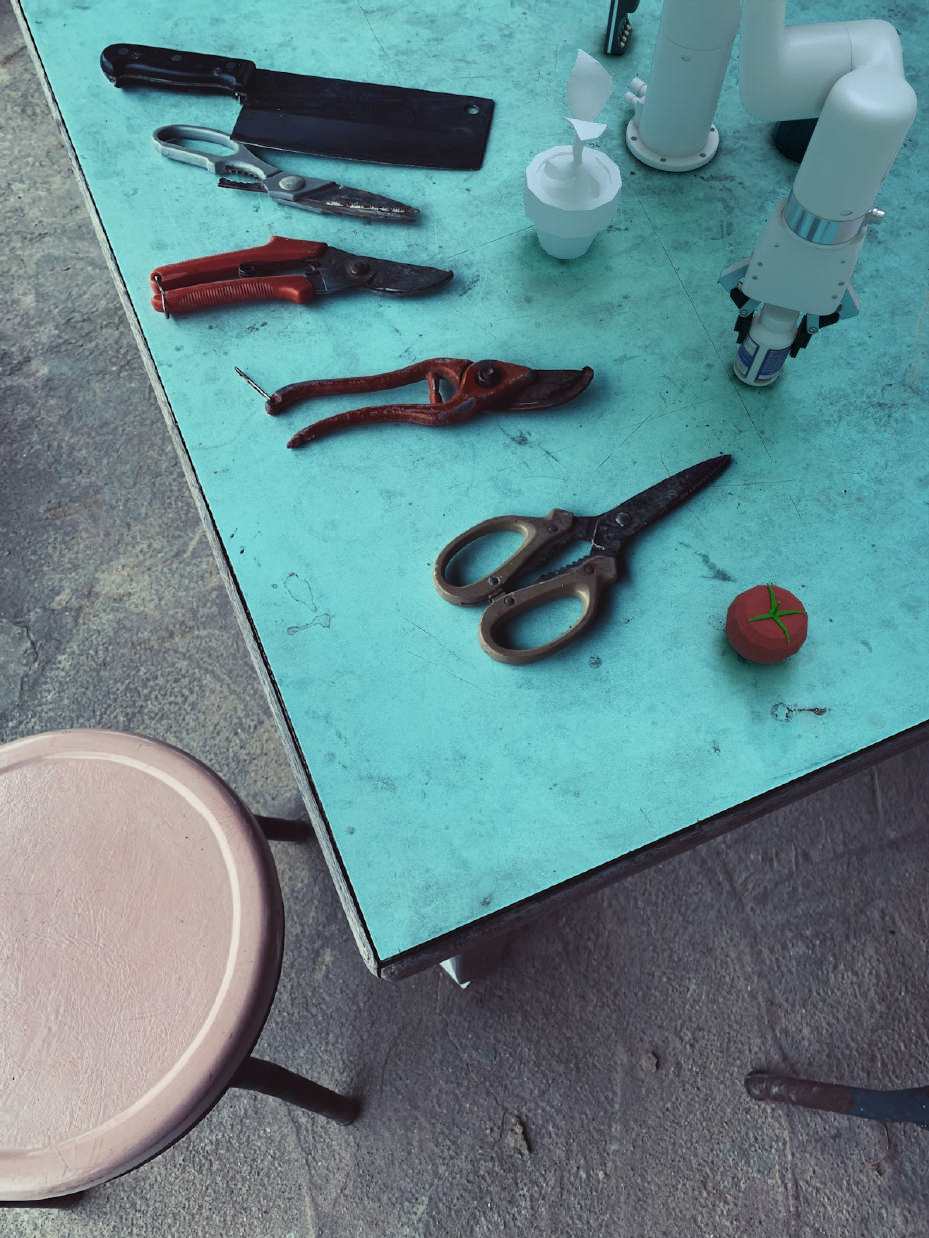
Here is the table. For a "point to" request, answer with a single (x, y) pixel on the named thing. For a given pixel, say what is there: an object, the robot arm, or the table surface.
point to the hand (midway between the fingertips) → (767, 340)
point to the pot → (794, 137)
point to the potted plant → (575, 171)
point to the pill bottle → (766, 345)
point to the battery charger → (619, 25)
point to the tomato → (766, 624)
